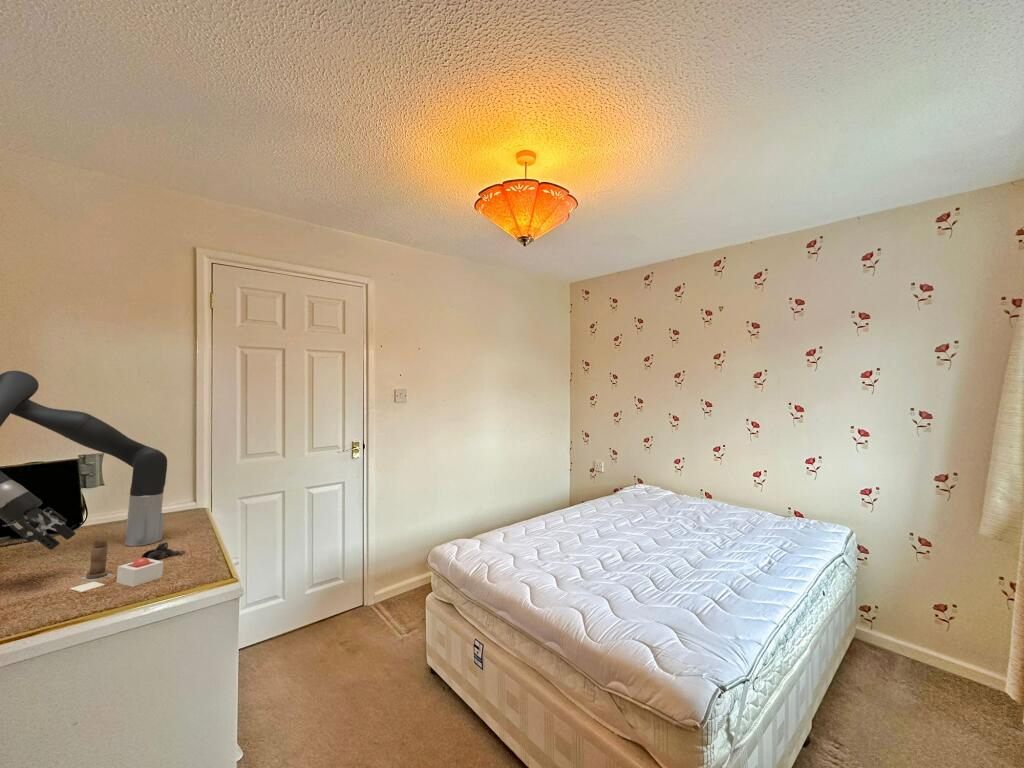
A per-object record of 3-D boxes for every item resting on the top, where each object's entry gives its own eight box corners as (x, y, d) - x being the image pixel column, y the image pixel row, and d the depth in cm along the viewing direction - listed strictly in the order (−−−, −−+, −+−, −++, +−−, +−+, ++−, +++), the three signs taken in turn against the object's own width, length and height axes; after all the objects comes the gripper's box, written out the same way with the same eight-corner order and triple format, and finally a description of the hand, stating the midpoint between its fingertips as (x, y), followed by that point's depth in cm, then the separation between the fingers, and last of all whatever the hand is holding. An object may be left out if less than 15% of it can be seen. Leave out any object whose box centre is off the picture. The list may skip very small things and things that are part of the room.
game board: (117, 570, 125) (118, 566, 125) (162, 581, 118) (163, 577, 119) (54, 588, 112) (54, 584, 112) (101, 601, 105) (101, 597, 105)
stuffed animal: (145, 569, 124) (138, 539, 130) (138, 591, 127) (131, 561, 133) (193, 558, 134) (184, 530, 140) (185, 579, 136) (176, 551, 143)
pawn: (101, 572, 121) (105, 534, 121) (111, 574, 119) (115, 536, 120) (82, 577, 116) (86, 538, 117) (91, 580, 115) (96, 540, 116)
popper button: (143, 574, 119) (145, 554, 119) (152, 576, 118) (154, 556, 118) (126, 579, 115) (128, 559, 116) (136, 581, 114) (138, 561, 114)
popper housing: (145, 574, 121) (147, 558, 121) (162, 577, 119) (163, 561, 119) (116, 583, 114) (118, 566, 115) (133, 587, 112) (134, 570, 112)
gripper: (12, 505, 116) (63, 544, 120) (-25, 519, 103) (34, 561, 107) (41, 485, 118) (90, 524, 123) (9, 496, 106) (65, 539, 110)
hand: (64, 541), depth 115 cm, fingers open, 8 cm apart
